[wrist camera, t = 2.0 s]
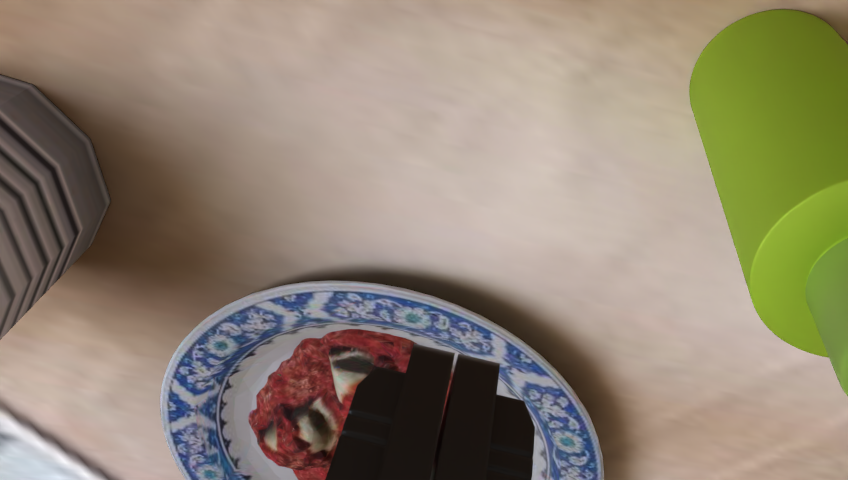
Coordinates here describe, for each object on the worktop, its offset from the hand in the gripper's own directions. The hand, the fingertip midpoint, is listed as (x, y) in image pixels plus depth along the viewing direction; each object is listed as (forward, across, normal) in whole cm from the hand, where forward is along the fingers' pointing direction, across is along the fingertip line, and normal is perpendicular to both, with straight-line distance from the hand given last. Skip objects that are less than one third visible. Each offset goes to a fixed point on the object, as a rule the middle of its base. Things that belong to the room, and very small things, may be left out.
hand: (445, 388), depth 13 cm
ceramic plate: (+21, +2, +26) cm, 34 cm away
